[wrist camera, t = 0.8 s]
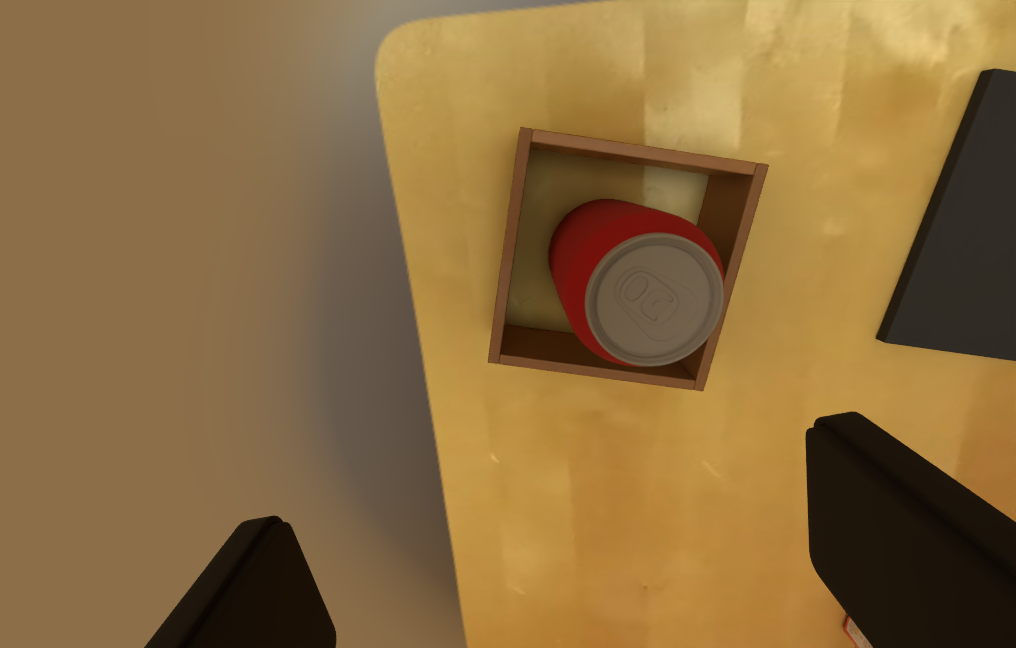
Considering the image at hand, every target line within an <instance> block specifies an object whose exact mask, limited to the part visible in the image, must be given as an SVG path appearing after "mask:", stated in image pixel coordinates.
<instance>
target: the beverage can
mask: <svg viewBox="0 0 1016 648" xmlns="http://www.w3.org/2000/svg"><path fill="white" fill-rule="evenodd" d="M549 267H550V271H551V274H552V278H553V281H554V284H555V286H556V289H557V292H558V295H559V298H560V300H561V303H562V305H563V308H564V310H565V313H566V315H567V318H568V320H569V322H570V325H571V327H572V329H573V330H574V332H575V334H576V335H577V337H578V338H579V339H580V341H581V342H582V343H583V344H584V345H585V346H586V347H587V348H588V349H590V350H591V351H592V352H593V353H595V354H596V355H598V356H600V357H602V358H603V359H606V360H608V361H610V362H613V363H617V364H621V365H626V366H660V365H666V364H669V363H673V362H676V361H678V360H680V359H682V358H684V357H686V356H688V355H689V354H691V353H692V352H694V351H695V350H697V349H698V348H699V347H700V346H701V345H702V344H703V343H704V342H705V341H706V340H707V339H708V337H709V336H710V335H711V333H712V332H713V330H714V329H715V327H716V325H717V323H718V321H719V318H720V315H721V312H722V308H723V302H724V273H723V268H722V263H721V260H720V257H719V255H718V253H717V250H716V249H715V247H714V245H713V243H712V242H711V241H710V239H709V238H708V237H707V236H706V235H705V234H704V233H703V232H702V231H701V230H700V229H699V228H698V227H696V226H695V225H694V224H692V223H691V222H689V221H687V220H685V219H683V218H681V217H678V216H675V215H672V214H669V213H666V212H663V211H659V210H656V209H652V208H649V207H645V206H641V205H637V204H633V203H629V202H625V201H620V200H614V199H599V200H594V201H590V202H587V203H585V204H582V205H580V206H578V207H577V208H575V209H574V210H572V211H571V212H570V213H569V214H567V215H566V216H565V217H564V218H563V220H562V221H561V222H560V224H559V225H558V226H557V228H556V230H555V232H554V234H553V236H552V239H551V242H550V247H549Z"/></svg>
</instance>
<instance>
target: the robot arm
mask: <svg viewBox="0 0 1016 648" xmlns="http://www.w3.org/2000/svg"><path fill="white" fill-rule="evenodd" d="M806 466H807V497H808V527H809V552H810V558H811V561H812V564H813V566H814V568H815V570H816V572H817V574H818V575H819V577H820V578H821V580H822V581H823V582H824V584H825V585H826V586H827V588H828V589H829V590H830V592H831V593H832V594H833V596H834V597H835V598H836V599H837V601H838V602H839V603H840V605H841V606H842V607H843V609H844V610H845V611H846V613H847V614H848V615H849V617H850V618H851V619H852V621H853V622H854V623H855V625H856V626H857V627H858V629H859V630H860V631H861V633H862V634H863V635H864V637H865V638H866V639H867V640H868V642H869V643H870V644H871V646H872V647H873V648H1016V522H1015V521H1013V520H1012V519H1010V518H1009V517H1007V516H1006V515H1005V514H1003V513H1002V512H1000V511H999V510H997V509H996V508H994V507H993V506H992V505H990V504H989V503H987V502H986V501H984V500H983V499H982V498H980V497H979V496H977V495H976V494H974V493H973V492H972V491H970V490H969V489H967V488H966V487H964V486H963V485H962V484H960V483H959V482H957V481H956V480H954V479H953V478H952V477H950V476H949V475H947V474H946V473H944V472H943V471H941V470H940V469H939V468H937V467H936V466H934V465H933V464H931V463H930V462H929V461H927V460H926V459H924V458H923V457H921V456H920V455H919V454H917V453H916V452H914V451H913V450H911V449H910V448H909V447H907V446H906V445H904V444H903V443H901V442H900V441H899V440H897V439H896V438H894V437H893V436H891V435H890V434H889V433H887V432H886V431H884V430H883V429H881V428H880V427H878V426H877V425H876V424H874V423H873V422H871V421H870V420H868V419H867V418H866V417H864V416H863V415H861V414H859V413H857V412H846V413H841V414H835V415H830V416H824V417H819V418H817V419H816V420H815V423H814V427H813V428H809V429H807V431H806ZM335 647H336V631H335V627H334V625H333V623H332V620H331V618H330V616H329V613H328V611H327V609H326V606H325V604H324V601H323V599H322V597H321V595H320V592H319V590H318V588H317V585H316V583H315V581H314V578H313V576H312V573H311V571H310V569H309V566H308V564H307V562H306V559H305V557H304V555H303V552H302V550H301V548H300V545H299V543H298V540H297V538H296V536H295V534H294V531H293V529H292V527H291V525H290V524H289V523H287V522H283V521H282V519H281V518H279V517H278V516H269V517H263V518H258V519H252V520H247V521H244V522H242V523H241V524H240V525H239V526H238V527H237V528H236V529H235V531H234V532H233V533H232V535H231V536H230V537H229V538H228V540H227V541H226V542H225V544H224V545H223V546H222V548H221V549H220V550H219V552H218V553H217V554H216V555H215V557H214V558H213V559H212V561H211V562H210V563H209V564H208V566H207V567H206V569H205V570H204V571H203V572H202V573H201V575H200V576H199V577H198V579H197V580H196V581H195V583H194V584H193V585H192V587H191V588H190V589H189V590H188V592H187V593H186V594H185V596H184V597H183V598H182V599H181V601H180V602H179V603H178V605H177V606H176V607H175V608H174V610H173V611H172V612H171V614H170V615H169V616H168V617H167V619H166V620H165V621H164V623H163V624H162V625H161V627H160V628H159V629H158V630H157V632H156V633H155V634H154V636H153V637H152V638H151V640H150V641H149V642H148V643H147V645H146V646H145V647H144V648H335Z"/></svg>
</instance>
